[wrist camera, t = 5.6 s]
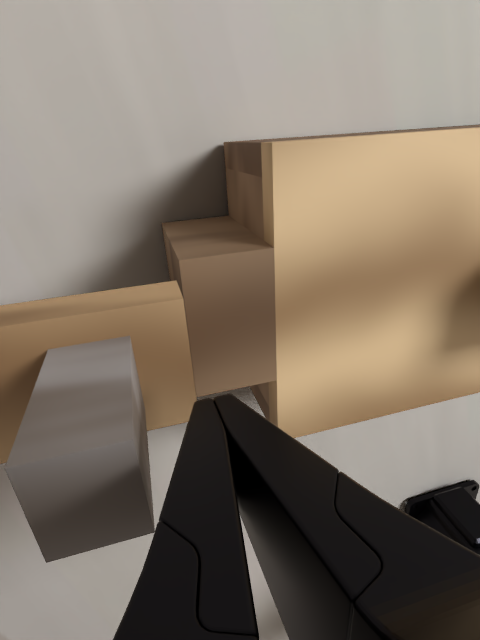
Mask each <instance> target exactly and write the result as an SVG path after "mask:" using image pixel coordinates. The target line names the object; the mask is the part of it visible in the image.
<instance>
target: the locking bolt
mask: <svg viewBox="0 0 480 640" xmlns="http://www.w3.org/2000/svg"><path fill="white" fill-rule="evenodd" d="M195 401H197V398H196V391H195V383H194V376H193V368H192V361H191V353H190V345H189V338H188V330H187V323H186V315H185V308H184V300H183V296H182V294H181V291H180V288H179V286H178V283H177V280H176V281H169V282H162V283H155V284H148V285H141V286H134V287H127V288H120V289H113V290H106V291H99V292H92V293H85V294H78V295H71V296H64V297H57V298H50V299H43V300H36V301H29V302H22V303H15V304H8V305H1V306H0V464H2V463H6V462H7V463H6V466H5V471H6V473H7V475H8V478H9V480H10V482H11V484H12V487H13V489H14V491H15V493H16V496H17V498H18V500H19V502H20V505H21V507H22V509H23V511H24V514H25V516H26V518H27V520H28V523H29V525H30V527H31V529H32V532H33V534H34V536H35V538H36V541H37V543H38V545H39V547H40V550H41V552H42V554H43V556H44V559H45V561H46V563H47V562H51V561H54V560H58V559H61V558H65V557H68V556H72V555H76V554H79V553H83V552H86V551H90V550H93V549H97V548H100V547H104V546H108V545H111V544H115V543H118V542H122V541H125V540H129V539H133V538H136V537H140V536H143V535H147V534H150V533H154V532H155V529H154V516H153V503H152V491H151V478H150V465H149V452H148V439H147V431H149V430H154V429H158V428H163V427H167V426H172V425H176V424H181V423H185V422H188V421H189V418H190V414H191V411H192V408H193V404H194V402H195Z"/></svg>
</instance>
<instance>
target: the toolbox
mask: <svg viewBox="0 0 480 640" xmlns="http://www.w3.org/2000/svg"><path fill="white" fill-rule="evenodd" d="M474 127H480V125H467V126H453V127H438V128H424V129H409V130H394V131H380V132H365V133H351V134H336V135H322V136H307V137H293V138H278V139H263V140H249V141H234V142H224V155H225V169H226V183H227V198H228V212H229V216H220V217H211V218H202V219H193V220H184V221H175V222H166V223H162V229H163V236H164V243H165V249H166V256H167V263H168V270H169V277H170V281H176V280H177V283H178V286H179V288H180V291H181V294H182V296H183V300H184V308H185V315H186V323H187V330H188V338H189V345H190V353H191V361H192V368H193V376H194V383H195V391H196V396H197V397H200V396H205V395H210V394H214V393H219V392H224V391H229V390H233V389H238V388H243V387H247V386H250V388H251V390H252V392H253V394H254V396H255V398H256V400H257V402H258V404H259V406H260V408H261V410H262V412H263V413H264V415H265V417H266V419H267V420H268V421H270V413H269V382H271V381H276V380H277V361H276V310H275V260H274V247H272V246H271V245H270V244H268V243H267V242H265V241H264V221H263V189H262V157H261V142H275V141H289V140H303V139H318V138H332V137H346V136H360V135H375V134H389V133H403V132H417V131H431V130H446V129H460V128H474Z"/></svg>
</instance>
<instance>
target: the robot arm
mask: <svg viewBox="0 0 480 640" xmlns="http://www.w3.org/2000/svg"><path fill="white" fill-rule="evenodd" d="M478 489H479V484H478V483H477V482H476V481H474V480H471V481H468V482H465V483H461V484H458V485H455V486H451V487H448V488H445V489H442V490H438V491H435V492H432V493H428V494H425V495H422V496H419V497H415V498H412V499H410V500H409V501H408V502H407V505H406V511H405V512H403V511H401V510H399V509H398V508H396V507H394V506H393V505H391V504H389V503H388V502H386V501H384V500H383V499H381V498H379V497H378V496H376V495H375V494H373V493H372V492H370V491H369V490H367V489H366V488H364V487H363V486H361V485H360V484H358V483H357V482H355V481H354V480H353V479H351V478H350V477H348V476H347V475H346V474H344V473H343V472H339V471H338V469H337V468H335V467H334V466H332V465H331V464H330V463H328V462H327V461H325V460H324V459H323V458H321V457H320V456H318V455H317V454H315V453H314V452H313V451H311V450H310V449H308V448H307V447H305V446H304V445H303V444H301V443H300V442H298V441H297V440H295V439H294V438H293V437H291V436H290V435H288V434H287V433H286V432H284V431H283V430H281V429H280V428H278V427H277V426H276V425H274V424H273V423H271V422H270V421H268V420H267V419H266V418H264V417H263V416H261V415H260V414H259V413H257V412H256V411H254V410H253V409H251V408H250V407H249V406H247V405H246V404H244V403H243V402H241V401H240V400H239V399H237V398H236V397H234V396H233V395H231V394H227V395H222V396H217V397H215V398H214V399H211V398H208V399H203V400H199V401H195V402H194V404H193V408H192V411H191V414H190V418H189V421H188V424H187V428H186V431H185V434H184V438H183V441H182V444H181V448H180V451H179V454H178V458H177V461H176V464H175V468H174V471H173V474H172V478H171V481H170V484H169V488H168V491H167V494H166V498H165V501H164V504H163V508H162V511H161V514H160V518H159V522H158V524H157V527H156V530H155V534H154V537H153V540H152V543H151V546H150V549H149V552H148V555H147V558H146V561H145V564H144V567H143V570H142V572H141V575H140V577H139V580H138V582H137V585H136V587H135V590H134V592H133V594H132V597H131V599H130V602H129V604H128V607H127V609H126V611H125V613H124V616H123V618H122V620H121V622H120V625H119V627H118V629H117V632H116V634H115V636H114V638H113V640H259V633H258V627H257V621H256V614H255V608H254V602H253V595H252V589H251V583H250V576H249V570H248V564H247V558H246V551H245V545H244V539H243V532H242V526H241V520H240V516H241V518H242V521H243V523H244V526H245V528H246V531H247V533H248V536H249V538H250V541H251V544H252V546H253V549H254V551H255V554H256V556H257V559H258V561H259V564H260V566H261V569H262V571H263V574H264V577H265V579H266V582H267V584H268V587H269V589H270V592H271V594H272V597H273V599H274V602H275V604H276V607H277V609H278V612H279V615H280V617H281V620H282V622H283V625H284V627H285V630H286V632H287V635H288V637H289V640H480V504H479V503H478V502H477V501H476V500H475V499H476V496H477V493H478ZM239 513H240V514H239Z"/></svg>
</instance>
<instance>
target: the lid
mask: <svg viewBox="0 0 480 640" xmlns="http://www.w3.org/2000/svg"><path fill="white" fill-rule="evenodd" d="M261 157H262V189H263V221H264V241H265V242H267V243H268V244H270V245H271V246H272V247H274V260H275V310H276V361H277V380H276V381H271V382H269V413H270V422H271V423H273V424H274V425H276V426H277V427H278V428H280V429H281V430H283V431H284V432H286V433H287V434H288V435H290V436H291V437H293V438H296V437H300V436H304V435H308V434H313V433H317V432H321V431H325V430H329V429H333V428H337V427H341V426H345V425H349V424H353V423H357V422H361V421H365V420H369V419H373V418H377V417H381V416H385V415H389V414H393V413H397V412H401V411H405V410H410V409H414V408H418V407H422V406H426V405H430V404H434V403H438V402H442V401H446V400H450V399H454V398H458V397H462V396H466V395H470V394H474V393H478V392H480V127H474V128H460V129H446V130H431V131H417V132H403V133H389V134H375V135H360V136H346V137H332V138H318V139H303V140H289V141H275V142H261Z"/></svg>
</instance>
